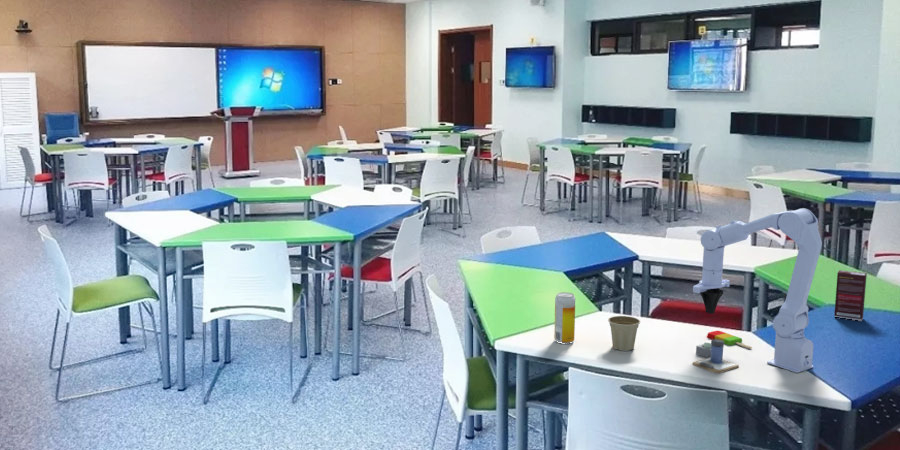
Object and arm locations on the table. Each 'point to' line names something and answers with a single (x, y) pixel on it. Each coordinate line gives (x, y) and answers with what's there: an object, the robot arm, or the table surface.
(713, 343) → the blue small bottle
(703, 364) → the clipboard
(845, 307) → the supplement box
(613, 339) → the flower pot
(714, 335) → the popsicle
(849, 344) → the table surface
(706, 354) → the button housing
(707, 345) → the button
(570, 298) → the beer can
